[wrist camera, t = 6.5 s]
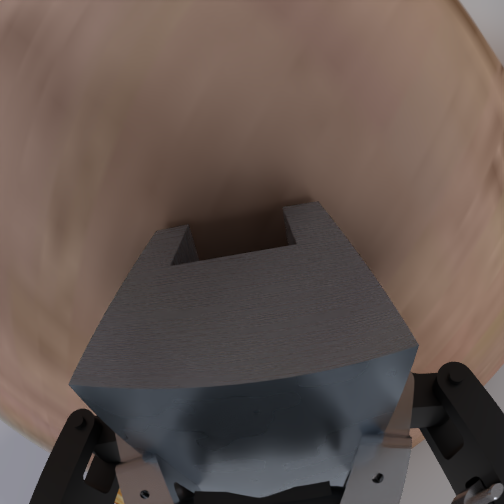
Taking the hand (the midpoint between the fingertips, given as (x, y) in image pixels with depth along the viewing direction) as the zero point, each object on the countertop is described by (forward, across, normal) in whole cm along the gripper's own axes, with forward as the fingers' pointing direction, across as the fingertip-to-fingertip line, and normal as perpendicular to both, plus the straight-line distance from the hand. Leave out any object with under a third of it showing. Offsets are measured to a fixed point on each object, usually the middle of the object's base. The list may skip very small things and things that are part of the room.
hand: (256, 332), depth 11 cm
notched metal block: (+1, 0, 0) cm, 1 cm away
